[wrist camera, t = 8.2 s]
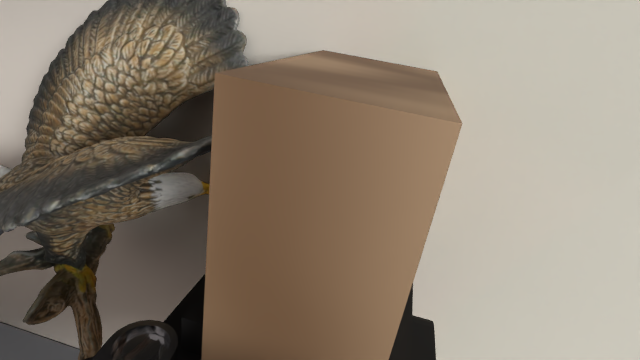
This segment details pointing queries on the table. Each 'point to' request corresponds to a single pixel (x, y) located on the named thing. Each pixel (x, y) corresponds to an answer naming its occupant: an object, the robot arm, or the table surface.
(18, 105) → the table surface
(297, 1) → the table surface
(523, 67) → the table surface
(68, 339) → the table surface
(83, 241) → the eagle figurine
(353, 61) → the brown rectangular block
